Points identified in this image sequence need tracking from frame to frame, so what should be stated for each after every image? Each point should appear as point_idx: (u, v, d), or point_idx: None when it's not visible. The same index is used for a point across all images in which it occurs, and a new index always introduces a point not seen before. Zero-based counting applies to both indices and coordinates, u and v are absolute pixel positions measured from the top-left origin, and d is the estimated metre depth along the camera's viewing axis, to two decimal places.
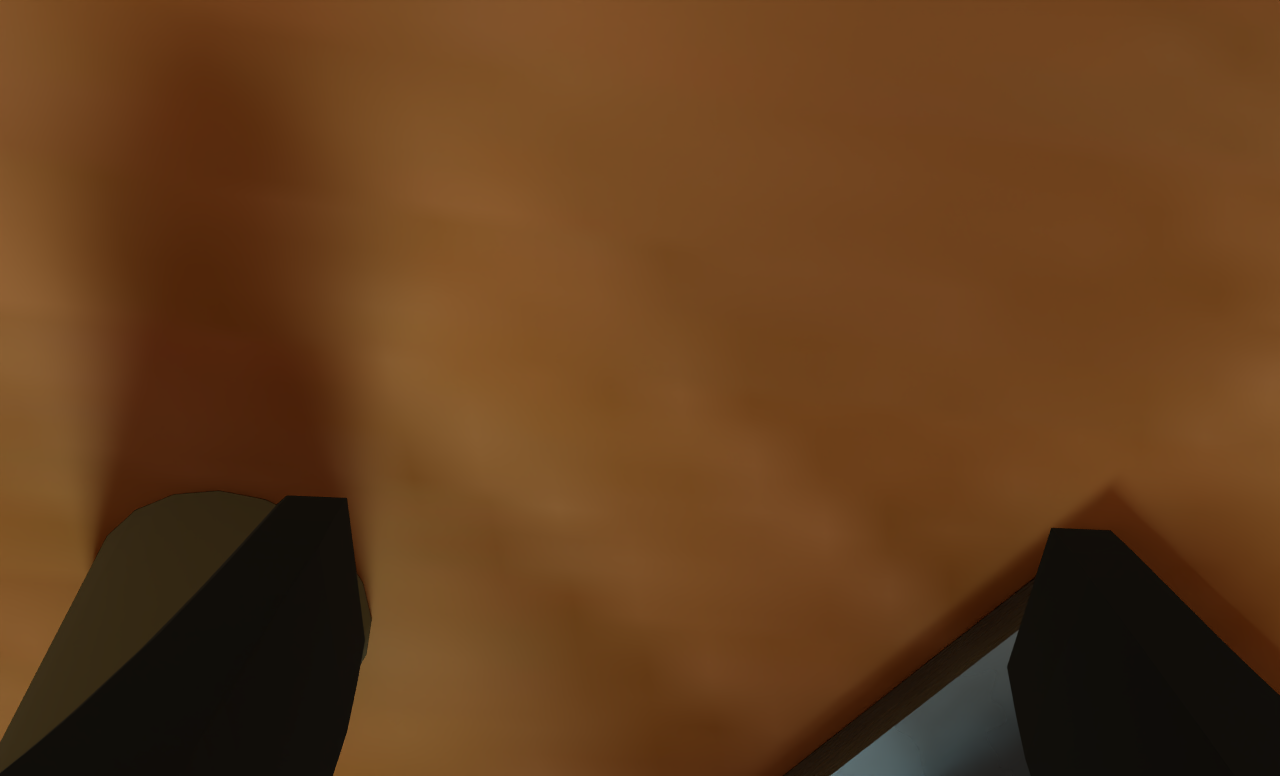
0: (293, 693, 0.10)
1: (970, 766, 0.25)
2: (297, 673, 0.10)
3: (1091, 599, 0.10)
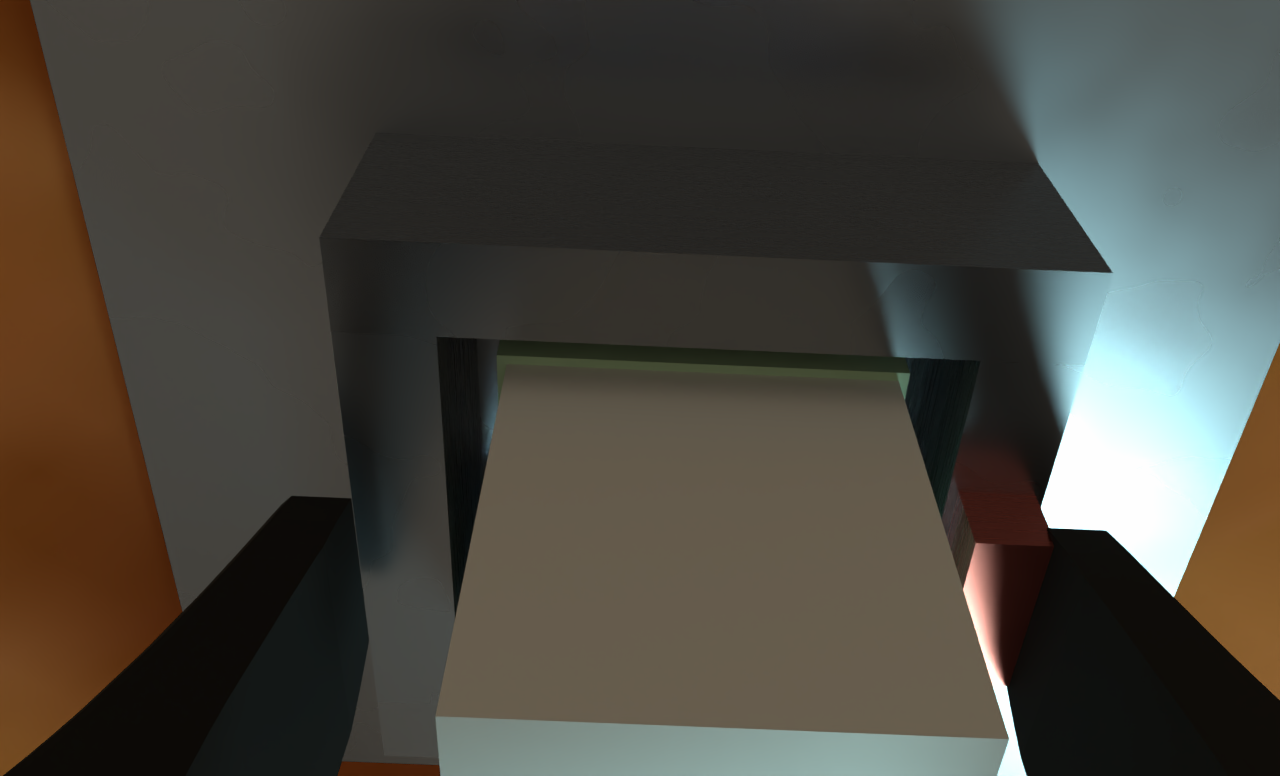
0: (297, 693, 0.10)
1: (277, 297, 0.14)
2: (302, 673, 0.10)
3: (1086, 599, 0.10)
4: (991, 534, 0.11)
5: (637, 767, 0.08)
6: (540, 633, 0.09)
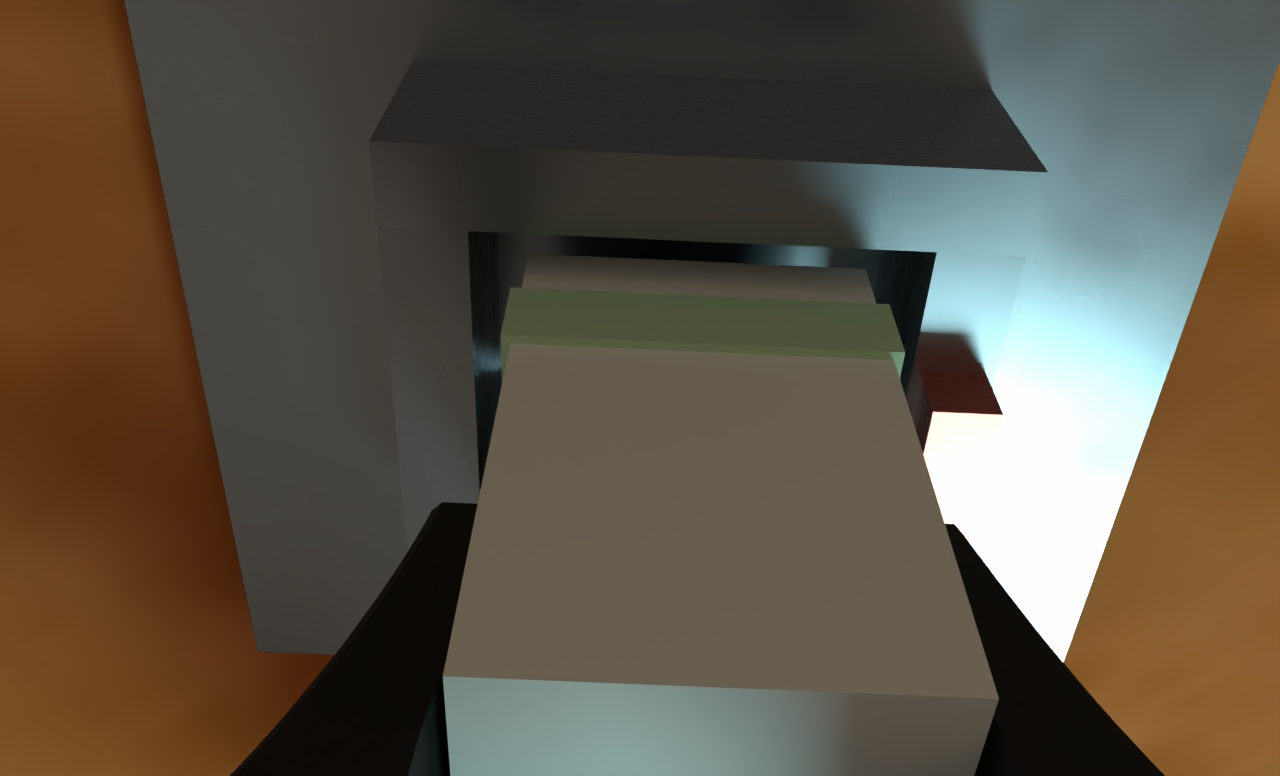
0: None
1: (321, 214, 0.15)
2: None
3: None
4: (947, 405, 0.13)
5: (637, 727, 0.09)
6: (544, 599, 0.09)
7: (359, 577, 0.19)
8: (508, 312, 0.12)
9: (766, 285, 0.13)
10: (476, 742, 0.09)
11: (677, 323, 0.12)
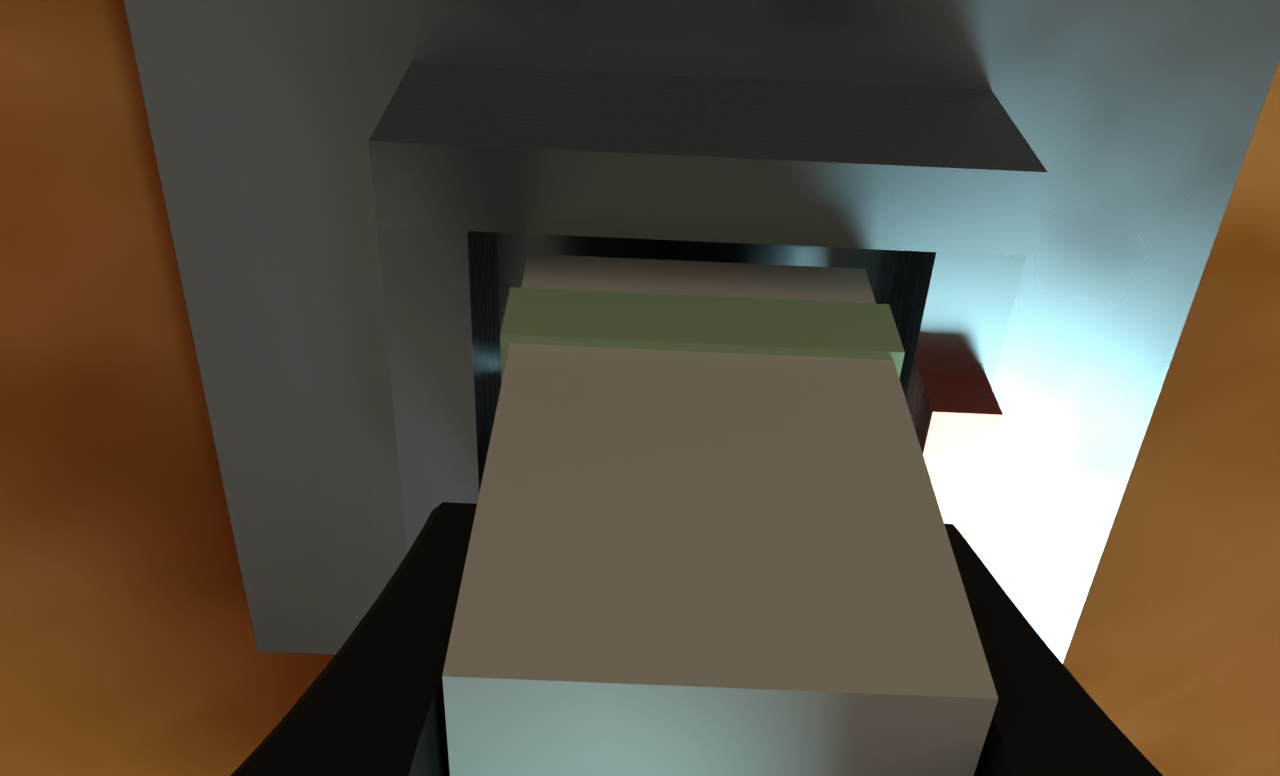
0: None
1: (321, 214, 0.15)
2: None
3: None
4: (946, 405, 0.13)
5: (637, 727, 0.09)
6: (543, 599, 0.09)
7: (359, 577, 0.19)
8: (508, 312, 0.12)
9: (765, 285, 0.13)
10: (476, 742, 0.09)
11: (677, 323, 0.12)
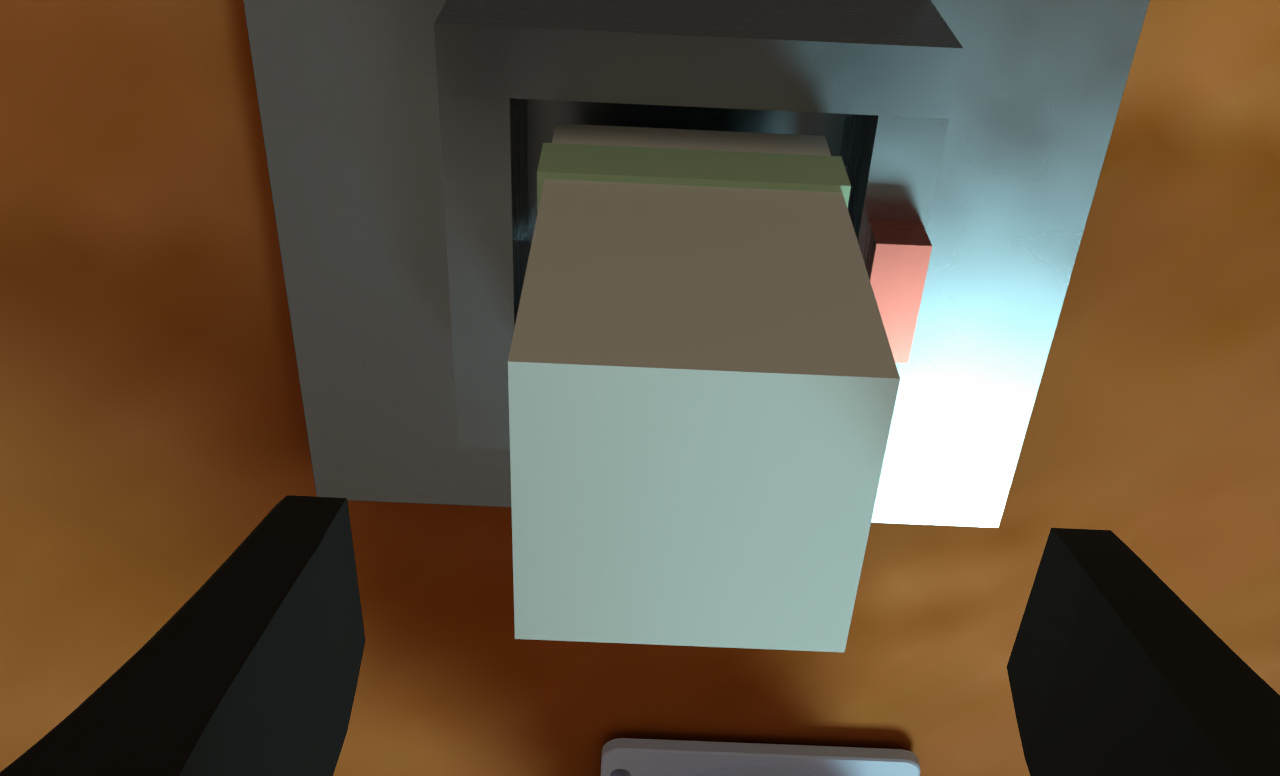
0: (292, 694, 0.10)
1: (384, 102, 0.19)
2: (297, 673, 0.10)
3: (1091, 599, 0.10)
4: (888, 240, 0.17)
5: (644, 405, 0.12)
6: (576, 323, 0.12)
7: (406, 428, 0.23)
8: (542, 158, 0.16)
9: (744, 145, 0.17)
10: (529, 419, 0.12)
11: (674, 166, 0.16)
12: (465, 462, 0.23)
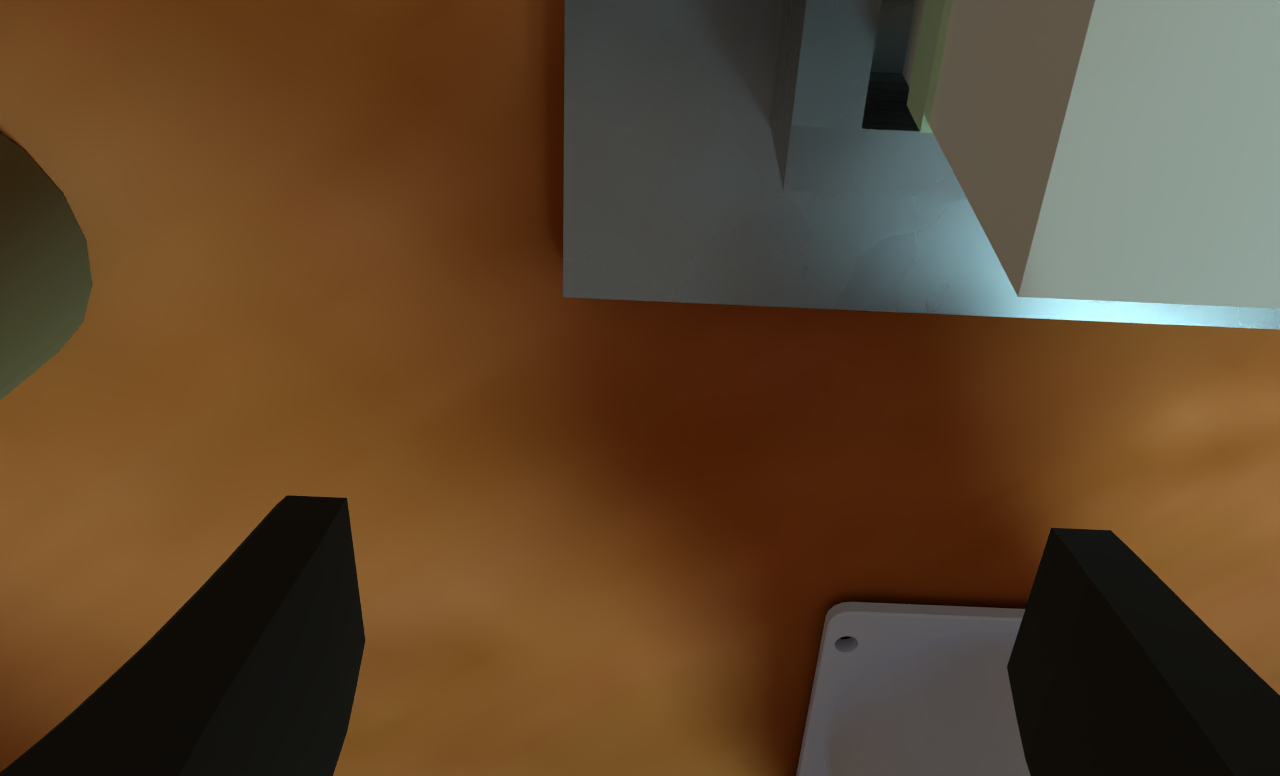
0: (293, 693, 0.10)
1: None
2: (297, 673, 0.10)
3: (1091, 599, 0.10)
4: None
5: None
6: None
7: (677, 206, 0.20)
8: None
9: None
10: None
11: None
12: (738, 249, 0.20)
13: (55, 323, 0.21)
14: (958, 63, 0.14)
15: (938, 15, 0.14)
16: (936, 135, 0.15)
